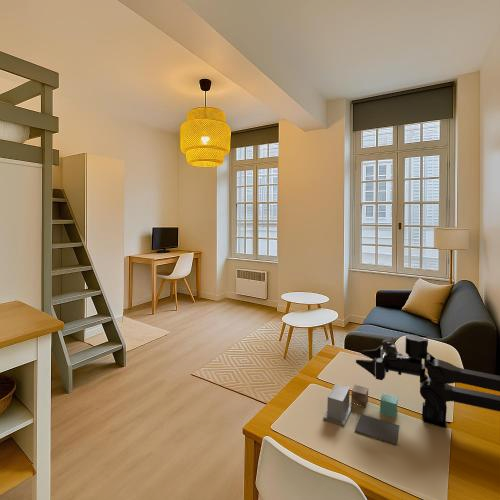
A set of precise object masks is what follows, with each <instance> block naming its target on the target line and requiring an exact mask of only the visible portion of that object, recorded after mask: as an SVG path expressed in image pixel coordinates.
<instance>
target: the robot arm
mask: <svg viewBox="0 0 500 500" xmlns="http://www.w3.org/2000/svg"><path fill="white" fill-rule="evenodd" d="M381 343H382V344H381V345H379V346H378V347H377V348H375V349H363V350H361V351H360V354H361V355H363V356H365V357H367V358H369V359H371V360H369V359H368V360H367V359H356V360H355V364H357V365H358V366H360V367H361V368H363V369H364V370H365V371H367V372H368V373H370V374H371V375H372V376H373V377H374V378H375V380H378V381H383V380H385V378H386V375H387V373H389V371H391V372H394V373H397V375H399V376H402V374H405V375H411V376H416V377H419V394H420V396H421V398H423V400H424V401H423V402H422V410H421V411H422V413H421V417H422V419H423V423H425V424H429V425H432V426H436V427H440V428H443V429H446V428H447V412H448V411H447V410H448V407H447V405H448V404H447V402H453V403H458V404H463V405H467V406H471V407H478V408H481V409H485V410H491V411H495V412H500V395H498V394H493V393H489V392H483V391H478V390H474V389H468V388H463V387H458V386H452V384H463V385H467V386H473V387H476V388H477V387H478V388H481V389H486V390H491V391H496V392H499V393H500V375H496V374H492V373H486V372H481V371H478V370H477V371H475V370H471V369H468V368H467V369H466V368H463V367H459V366H456V365H454V364H452V363H449V362H447V361H444V360H441V359H438V358H435V357H434V356H433V355H432V354H430V353H429V352H428V346H429V339H428V338H424V337H421V336H419V335H417V334H408V335H405V350H404V352H405V354H406V355H407V356H404V355H403V353H402V352H398V350H397V346H396V343H395V340H394V339H393V337H388V338H383V339H382V342H381ZM423 363H424V364H423ZM426 371H427V372H426ZM450 384H451V385H450Z"/></svg>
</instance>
